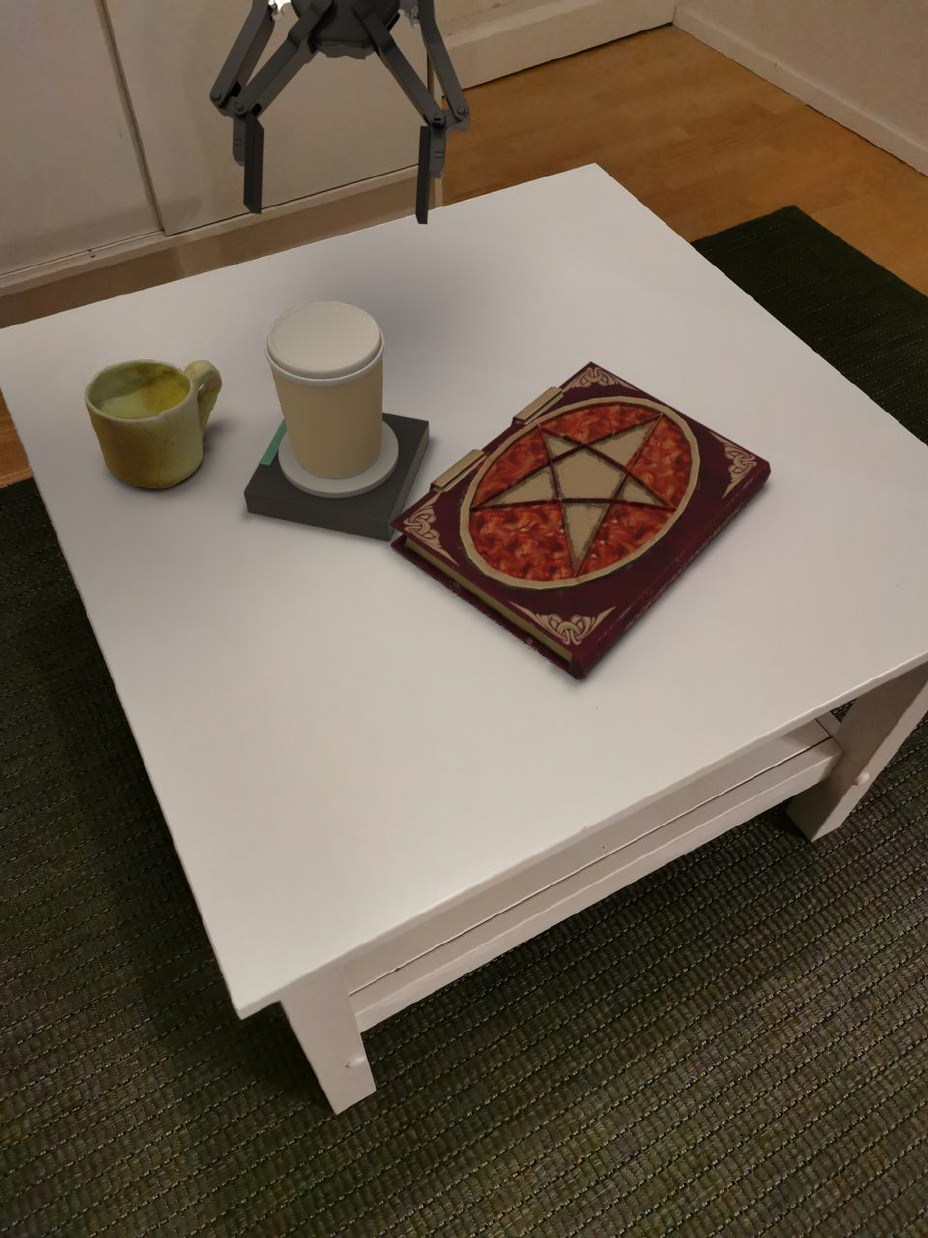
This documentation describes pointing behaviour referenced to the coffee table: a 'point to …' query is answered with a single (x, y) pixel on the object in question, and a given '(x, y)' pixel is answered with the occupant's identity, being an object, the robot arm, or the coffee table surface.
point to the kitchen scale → (341, 483)
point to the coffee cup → (329, 385)
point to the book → (579, 514)
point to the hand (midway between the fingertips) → (336, 214)
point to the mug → (152, 418)
